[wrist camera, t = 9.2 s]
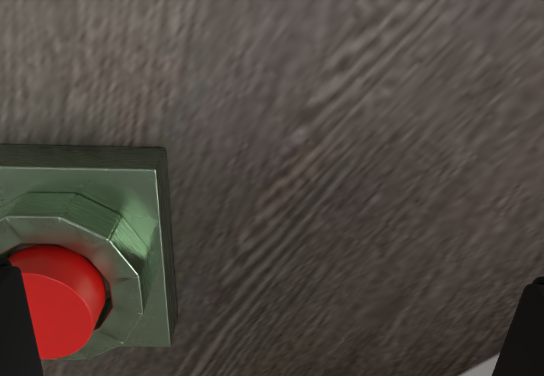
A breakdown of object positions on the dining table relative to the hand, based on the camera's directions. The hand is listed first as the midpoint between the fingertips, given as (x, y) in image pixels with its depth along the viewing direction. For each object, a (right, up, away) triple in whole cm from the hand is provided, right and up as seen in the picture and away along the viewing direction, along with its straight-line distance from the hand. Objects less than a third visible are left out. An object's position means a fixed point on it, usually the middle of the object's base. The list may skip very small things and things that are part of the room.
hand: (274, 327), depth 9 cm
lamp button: (-8, -1, +10) cm, 13 cm away
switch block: (-9, 0, +13) cm, 15 cm away
